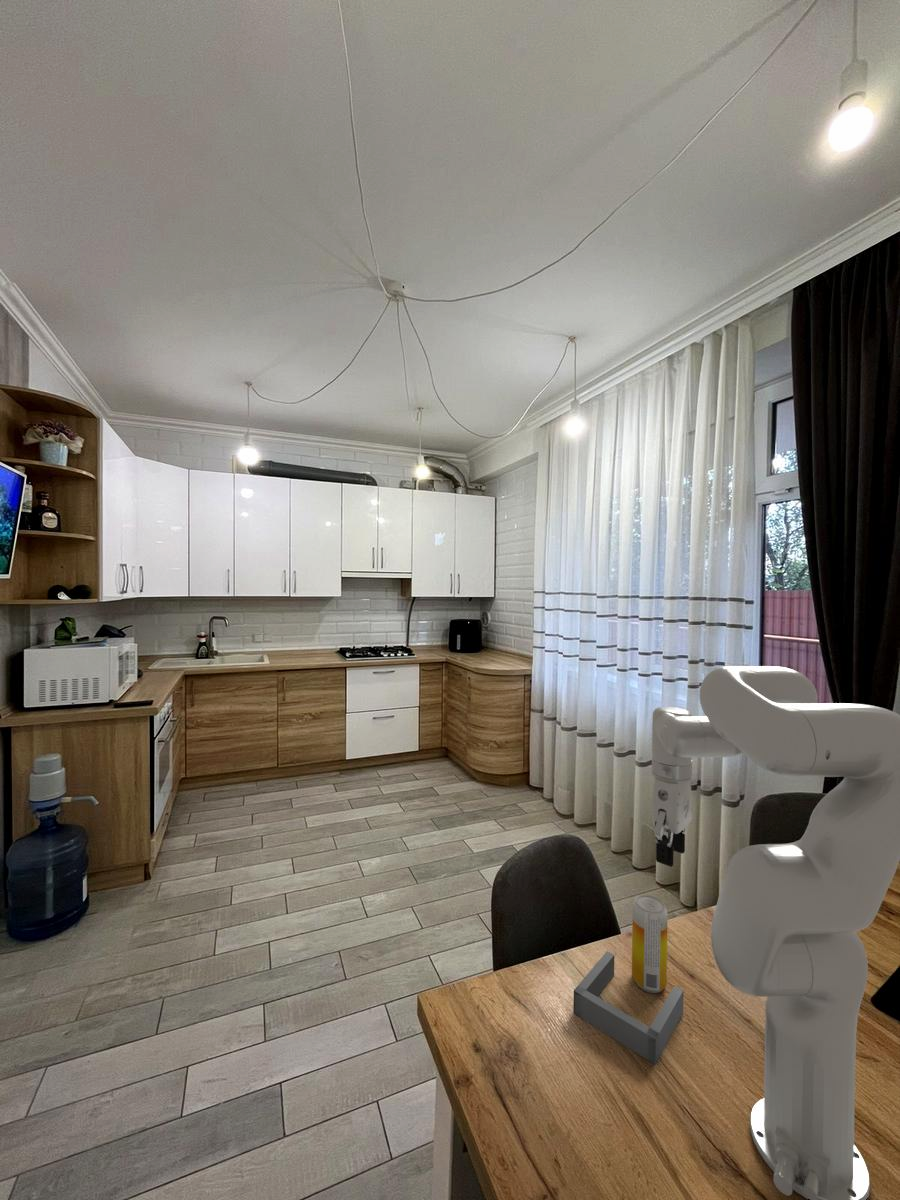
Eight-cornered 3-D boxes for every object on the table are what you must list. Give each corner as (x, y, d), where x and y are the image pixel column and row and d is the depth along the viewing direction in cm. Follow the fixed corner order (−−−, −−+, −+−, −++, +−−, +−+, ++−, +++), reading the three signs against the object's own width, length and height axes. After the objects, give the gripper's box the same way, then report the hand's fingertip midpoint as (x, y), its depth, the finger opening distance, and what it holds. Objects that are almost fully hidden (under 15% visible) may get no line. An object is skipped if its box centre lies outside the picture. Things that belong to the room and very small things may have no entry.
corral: (655, 1065, 77) (655, 1039, 77) (573, 1013, 86) (573, 990, 86) (683, 1013, 87) (683, 990, 87) (606, 971, 96) (606, 951, 96)
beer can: (660, 971, 96) (661, 894, 96) (671, 996, 90) (672, 914, 90) (628, 969, 97) (629, 892, 97) (636, 993, 91) (637, 912, 91)
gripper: (676, 785, 92) (675, 882, 92) (704, 763, 105) (703, 848, 105) (636, 775, 97) (635, 867, 98) (667, 755, 110) (666, 836, 110)
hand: (670, 856), depth 101 cm, fingers open, 6 cm apart
